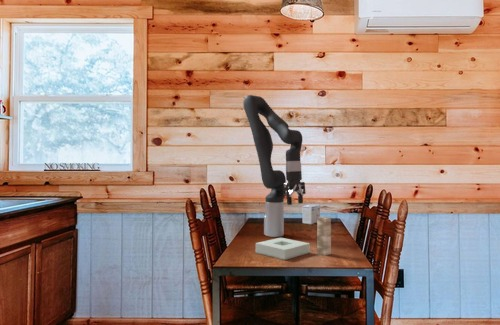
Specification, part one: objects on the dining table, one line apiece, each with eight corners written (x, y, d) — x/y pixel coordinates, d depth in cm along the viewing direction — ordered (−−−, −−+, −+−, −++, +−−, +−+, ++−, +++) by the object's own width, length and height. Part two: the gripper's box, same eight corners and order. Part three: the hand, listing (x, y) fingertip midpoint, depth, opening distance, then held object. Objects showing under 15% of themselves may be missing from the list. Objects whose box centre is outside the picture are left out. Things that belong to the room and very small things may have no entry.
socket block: (255, 252, 156) (255, 243, 156) (280, 246, 167) (280, 237, 167) (284, 260, 145) (284, 249, 145) (309, 252, 156) (309, 243, 156)
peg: (317, 253, 155) (317, 217, 154) (322, 252, 157) (322, 216, 157) (325, 255, 152) (325, 218, 152) (330, 253, 154) (330, 217, 154)
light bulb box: (310, 220, 236) (310, 203, 236) (320, 222, 232) (320, 204, 232) (301, 223, 228) (302, 205, 228) (311, 224, 224) (311, 206, 224)
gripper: (296, 170, 190) (298, 202, 189) (278, 171, 180) (279, 205, 179) (308, 170, 185) (310, 203, 184) (290, 170, 175) (292, 205, 174)
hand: (295, 204), depth 182 cm, fingers open, 8 cm apart
